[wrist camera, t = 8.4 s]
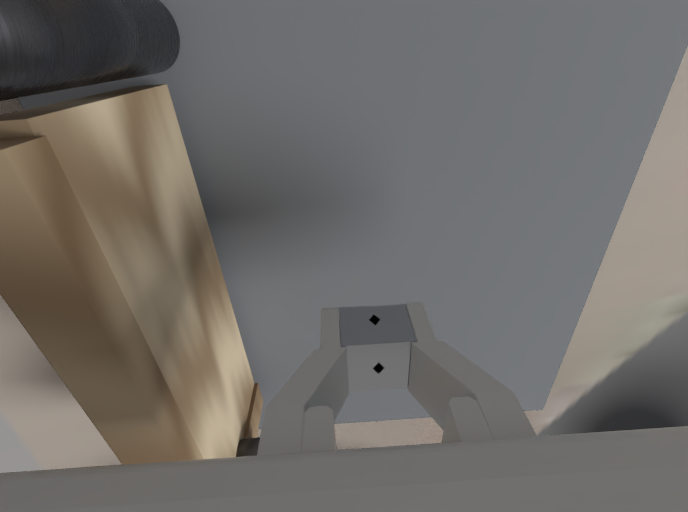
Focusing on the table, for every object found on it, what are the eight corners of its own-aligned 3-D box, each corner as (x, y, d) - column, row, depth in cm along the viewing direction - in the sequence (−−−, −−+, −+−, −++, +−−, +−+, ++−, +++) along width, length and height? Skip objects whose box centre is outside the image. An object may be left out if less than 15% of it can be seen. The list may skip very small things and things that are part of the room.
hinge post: (104, -7, 12) (-398, -123, 4) (176, -11, 12) (-159, -134, 4) (130, 73, 13) (-199, 124, 5) (195, 70, 13) (-23, 114, 5)
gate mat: (-66, -121, 10) (-94, -132, 10) (744, -156, 11) (773, -170, 10) (184, 423, 24) (180, 434, 23) (536, 399, 24) (542, 409, 23)
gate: (125, 87, 12) (-113, 137, 5) (196, 82, 12) (43, 126, 5) (237, 408, 21) (198, 571, 14) (278, 405, 21) (257, 566, 14)
